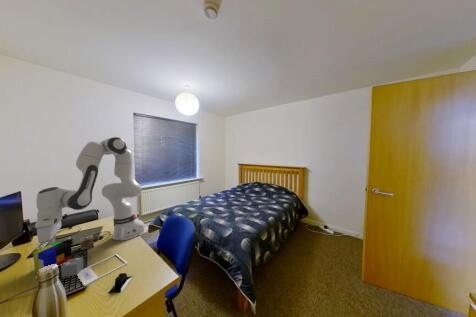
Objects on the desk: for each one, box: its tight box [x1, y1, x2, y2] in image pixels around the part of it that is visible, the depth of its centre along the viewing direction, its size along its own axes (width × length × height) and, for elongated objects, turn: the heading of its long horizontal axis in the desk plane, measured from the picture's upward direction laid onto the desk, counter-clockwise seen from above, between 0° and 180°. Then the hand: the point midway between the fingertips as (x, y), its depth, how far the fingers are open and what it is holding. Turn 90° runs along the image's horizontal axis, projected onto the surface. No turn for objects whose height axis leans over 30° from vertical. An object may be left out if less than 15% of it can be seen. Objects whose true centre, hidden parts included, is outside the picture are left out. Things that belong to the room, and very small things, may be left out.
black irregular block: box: [107, 272, 133, 294], centre depth 77 cm, size 12×7×5 cm, turn 2°
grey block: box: [60, 256, 85, 278], centre depth 84 cm, size 6×6×6 cm
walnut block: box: [79, 234, 95, 251], centre depth 107 cm, size 6×6×6 cm
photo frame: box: [76, 253, 128, 287], centre depth 87 cm, size 15×1×18 cm
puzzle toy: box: [32, 241, 73, 272], centre depth 90 cm, size 10×10×10 cm
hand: (51, 242), depth 89 cm, fingers closed
